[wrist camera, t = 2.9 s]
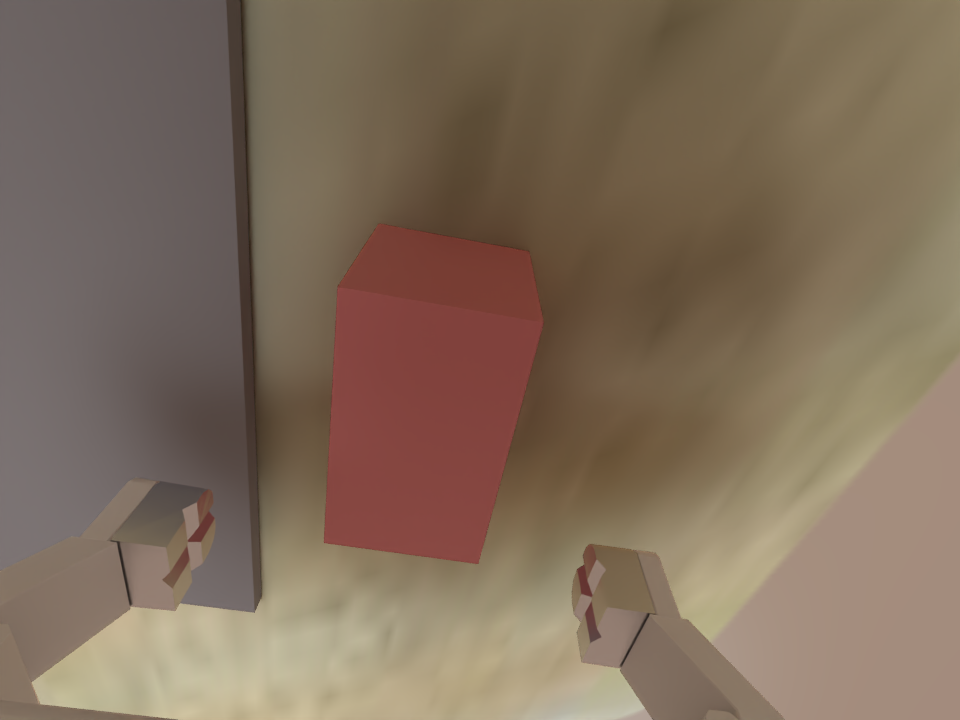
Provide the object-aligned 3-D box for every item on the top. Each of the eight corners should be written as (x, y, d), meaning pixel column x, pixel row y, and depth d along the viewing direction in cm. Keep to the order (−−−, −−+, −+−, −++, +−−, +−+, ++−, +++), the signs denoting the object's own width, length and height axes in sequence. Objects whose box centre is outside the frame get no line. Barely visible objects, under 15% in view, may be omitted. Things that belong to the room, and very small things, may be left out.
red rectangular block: (379, 221, 16) (337, 286, 11) (528, 249, 16) (543, 322, 12) (360, 434, 20) (323, 542, 15) (480, 452, 20) (477, 563, 16)
